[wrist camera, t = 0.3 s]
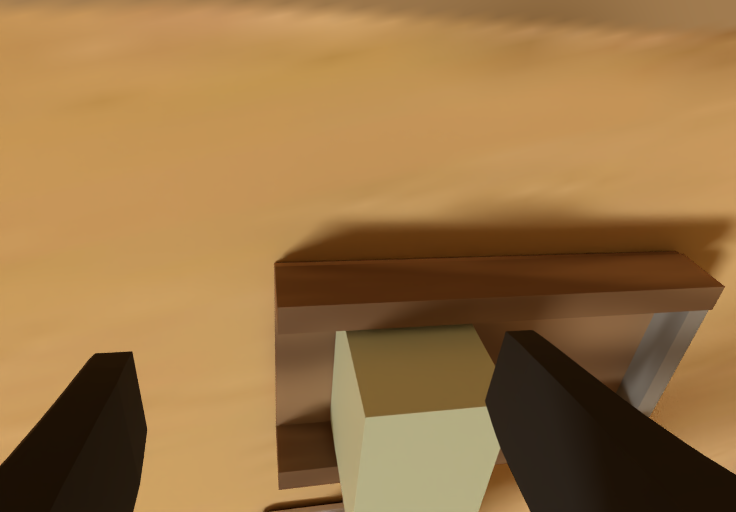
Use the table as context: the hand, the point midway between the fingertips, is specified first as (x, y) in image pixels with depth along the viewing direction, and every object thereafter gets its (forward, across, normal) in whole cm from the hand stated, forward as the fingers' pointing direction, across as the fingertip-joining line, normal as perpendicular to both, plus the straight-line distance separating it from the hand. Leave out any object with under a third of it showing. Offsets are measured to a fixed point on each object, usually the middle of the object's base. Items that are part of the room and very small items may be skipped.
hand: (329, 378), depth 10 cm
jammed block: (+9, -4, +8) cm, 13 cm away
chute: (+10, -8, +8) cm, 15 cm away
